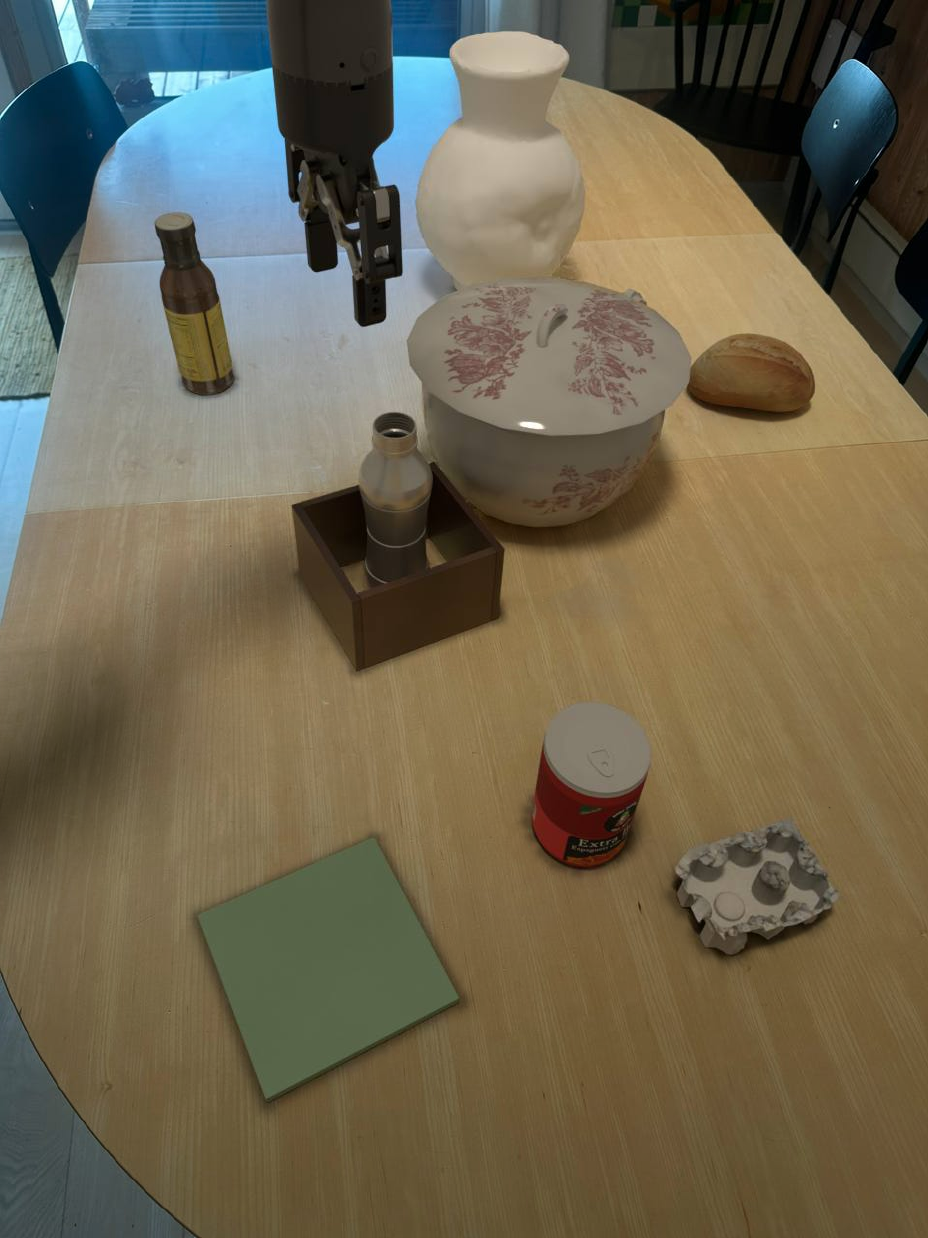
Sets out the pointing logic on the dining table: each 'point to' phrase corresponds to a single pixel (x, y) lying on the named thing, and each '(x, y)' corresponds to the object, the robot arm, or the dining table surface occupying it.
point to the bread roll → (752, 374)
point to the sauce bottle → (192, 308)
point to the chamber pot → (545, 394)
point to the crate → (408, 604)
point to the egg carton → (753, 885)
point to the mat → (324, 966)
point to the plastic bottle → (395, 501)
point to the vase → (502, 166)
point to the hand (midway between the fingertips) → (346, 294)
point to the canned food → (589, 782)
